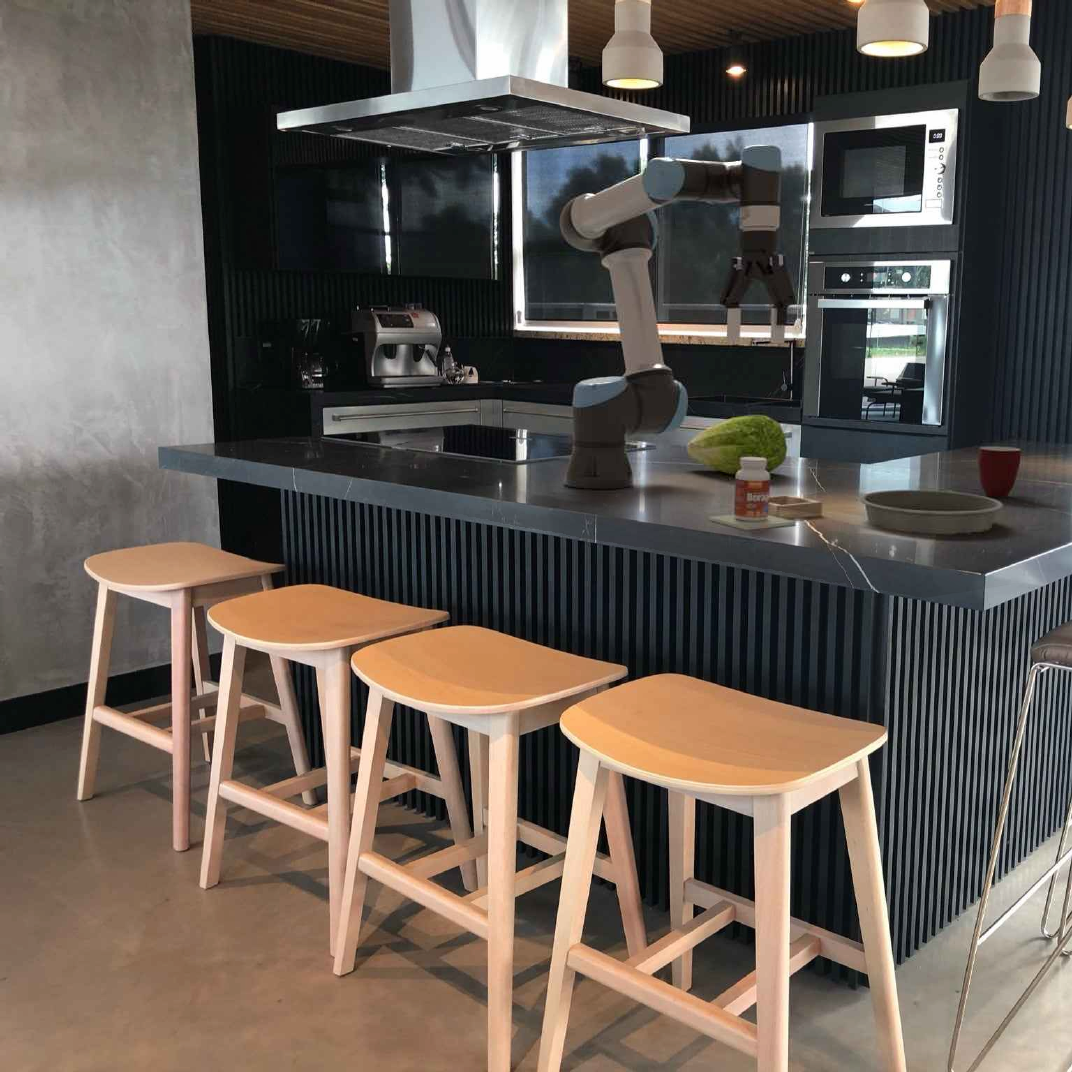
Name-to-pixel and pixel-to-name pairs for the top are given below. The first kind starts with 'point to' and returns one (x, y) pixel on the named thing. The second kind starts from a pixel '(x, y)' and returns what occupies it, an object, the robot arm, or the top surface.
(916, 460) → the top surface
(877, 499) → the cake pan
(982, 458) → the mug
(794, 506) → the pocket frame
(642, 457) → the top surface
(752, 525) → the coaster
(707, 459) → the lettuce
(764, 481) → the pill bottle
